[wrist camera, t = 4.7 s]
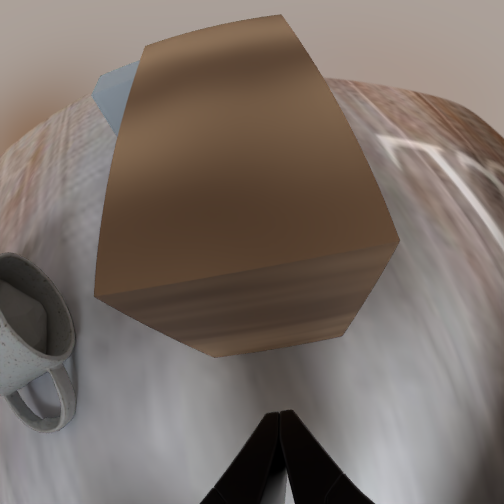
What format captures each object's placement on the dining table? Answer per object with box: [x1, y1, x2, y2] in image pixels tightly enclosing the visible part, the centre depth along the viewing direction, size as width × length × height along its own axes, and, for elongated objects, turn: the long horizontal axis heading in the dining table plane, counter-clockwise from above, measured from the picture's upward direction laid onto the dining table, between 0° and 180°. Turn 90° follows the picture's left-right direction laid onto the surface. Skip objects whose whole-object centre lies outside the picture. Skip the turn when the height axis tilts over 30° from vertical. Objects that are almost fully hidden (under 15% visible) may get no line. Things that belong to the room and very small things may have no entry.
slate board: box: [91, 60, 140, 137], centre depth 22 cm, size 3×14×7 cm, turn 98°
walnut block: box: [94, 15, 400, 358], centre depth 14 cm, size 13×7×11 cm, turn 8°
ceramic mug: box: [0, 252, 76, 433], centre depth 14 cm, size 11×8×8 cm
